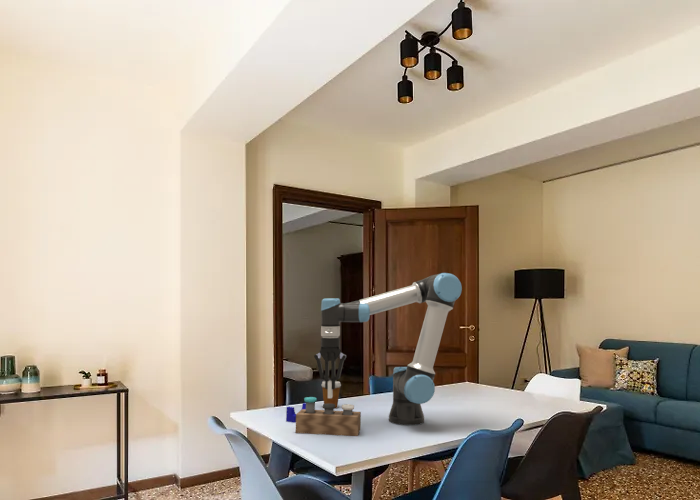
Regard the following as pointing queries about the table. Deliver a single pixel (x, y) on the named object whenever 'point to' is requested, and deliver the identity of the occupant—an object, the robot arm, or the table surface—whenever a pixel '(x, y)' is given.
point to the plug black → (328, 408)
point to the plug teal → (310, 404)
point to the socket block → (328, 423)
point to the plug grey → (347, 409)
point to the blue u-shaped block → (292, 413)
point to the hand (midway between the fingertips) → (330, 397)
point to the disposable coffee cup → (335, 394)
